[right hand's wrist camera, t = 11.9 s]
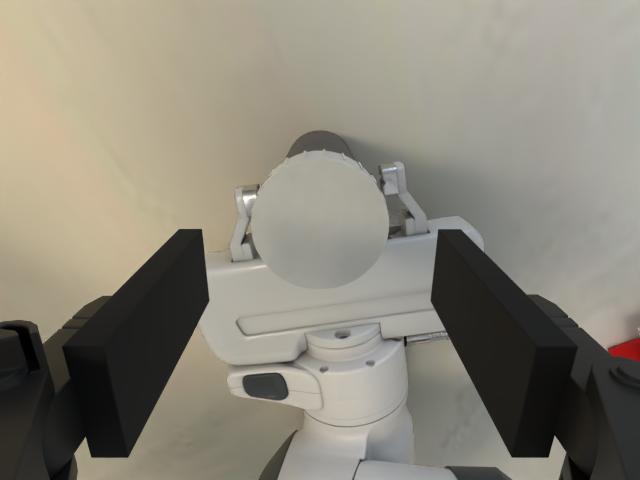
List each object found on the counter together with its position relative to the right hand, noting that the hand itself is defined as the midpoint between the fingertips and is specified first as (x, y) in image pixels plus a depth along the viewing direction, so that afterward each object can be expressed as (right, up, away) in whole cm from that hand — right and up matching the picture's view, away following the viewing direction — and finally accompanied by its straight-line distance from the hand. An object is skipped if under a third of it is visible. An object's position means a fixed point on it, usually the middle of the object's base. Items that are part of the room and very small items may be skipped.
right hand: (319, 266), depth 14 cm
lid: (0, +2, +4) cm, 4 cm away
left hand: (0, +5, +12) cm, 13 cm away
